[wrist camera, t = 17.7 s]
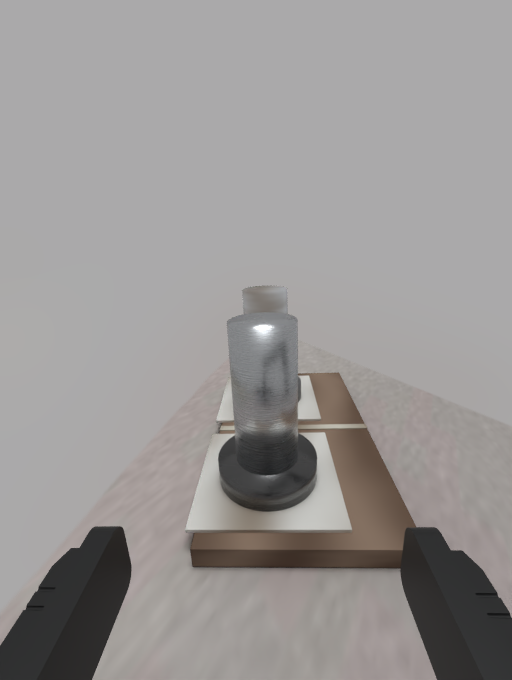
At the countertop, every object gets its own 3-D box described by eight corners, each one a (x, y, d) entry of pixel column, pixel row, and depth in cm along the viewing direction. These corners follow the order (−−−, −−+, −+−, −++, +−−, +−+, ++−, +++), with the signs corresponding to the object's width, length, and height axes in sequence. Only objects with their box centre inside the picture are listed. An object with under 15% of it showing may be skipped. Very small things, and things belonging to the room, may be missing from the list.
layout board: (338, 382, 38) (342, 277, 34) (425, 567, 17) (459, 348, 13) (230, 384, 38) (222, 282, 35) (183, 566, 17) (151, 356, 14)
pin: (310, 443, 25) (311, 306, 22) (324, 511, 19) (328, 335, 15) (226, 444, 25) (215, 309, 22) (212, 512, 19) (194, 339, 16)
